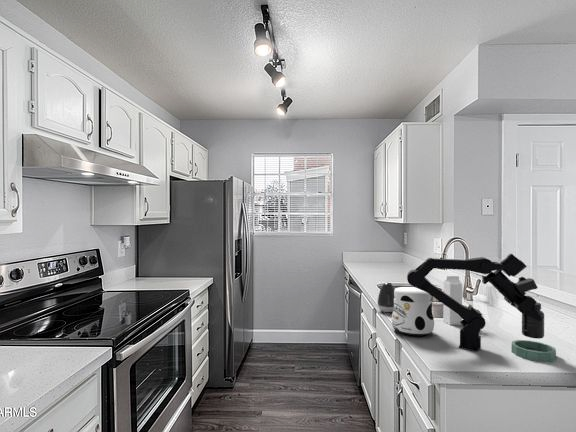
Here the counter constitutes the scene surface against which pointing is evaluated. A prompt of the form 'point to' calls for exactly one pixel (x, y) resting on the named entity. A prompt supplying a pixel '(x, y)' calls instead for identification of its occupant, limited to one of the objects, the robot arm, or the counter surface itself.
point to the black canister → (386, 298)
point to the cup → (534, 350)
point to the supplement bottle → (533, 324)
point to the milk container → (412, 311)
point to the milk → (455, 291)
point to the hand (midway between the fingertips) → (537, 317)
